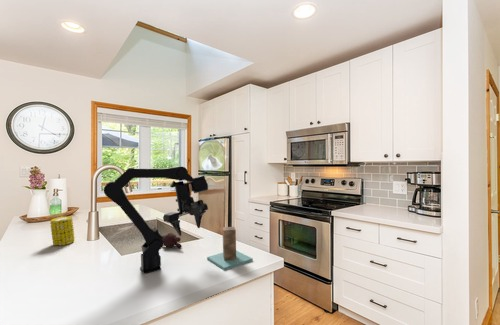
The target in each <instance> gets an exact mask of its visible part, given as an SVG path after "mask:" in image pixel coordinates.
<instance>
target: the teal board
mask: <svg viewBox="0 0 500 325" xmlns="http://www.w3.org/2000/svg"><path fill="white" fill-rule="evenodd" d="M206 259H207V260H208V261H209V262H210V263H213V265H215V266H217V267H219V268H220V269H222V270H223V271H226V270H229V269H232V268H235V267H239V266H241V265H244V264H249V263H251V262H253V261H254V259H253V257H250V256H248V255H247V254H244V253H243V252H240V251H238V250H236V259H235V260H225V261H224V257H223V252H220V253H216V254H213V255H209V256H206Z"/></svg>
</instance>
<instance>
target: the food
mask: <svg viewBox="0 0 500 325" xmlns="http://www.w3.org/2000/svg"><path fill="white" fill-rule="evenodd" d="M50 230H51V231H50V232H51V240H52V245H54V246H65V245H69V244H72V243H74V242H75V238H76V237H75V228H74V222H73V217H72V216H62V215H60V217H59V216H57V217H55V218H54V217H53V218H52V219H50Z"/></svg>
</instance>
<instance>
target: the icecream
mask: <svg viewBox="0 0 500 325" xmlns="http://www.w3.org/2000/svg"><path fill="white" fill-rule="evenodd" d="M162 236H163V238H162V239H163V241H164V244H163V246H164V247H165V248H173V247H176V248H178V249H182V247H183V246H182V244H181V243H180V242H181V236H177V235H176V234H174V233H173V232H170V233H167V234H165V235H162Z"/></svg>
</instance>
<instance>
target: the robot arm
mask: <svg viewBox="0 0 500 325" xmlns="http://www.w3.org/2000/svg"><path fill="white" fill-rule="evenodd" d="M150 178H151V179H157V178H158V179H161V178H163V179H169V180H172V182H171V184H170V185H169V187H170V188H174V190H175V195H176V196H175V197H176V199H175V202H177V206H178V208H177V212H173V211H171V212H167V213H165V214H163V216H162V218H163V222H165V223H169V224H170V225H171V226H172V227H173V229H174V230H175V231H176V233H177V234H178V237H182V230H181V225H180V223H181V220H180V217H182V216H186V215H190V216H194V220H195V225H196V227H197V229H200V227H201V223H202V218H203V215H204V214H205V213H206V212H207V210H209V206H208V204H207V203H205V202H204V200H203V199H198V200H197V201H195V200H194V197H193V196H191V192H192V193H194V194H198V193H202V192H207V191H209V190H208V189H209V185H208V182H207V179H206V177H205V175H200V176H197V177H196V176H195V177H193V176H192V175H191V174H189V170H188V169H187V168H186V167H185V166H178V165H177V166H171V167H166V168H134V167H129V168H127V169H125V171H124V172H123V173H122V174H121V175H119V177H117V178H116V179H115V180H112V181H109V182H107V183H106V184H105V185H104V188H103V193H104V195H105V196H106V197H107V198H108V199H110V200H111V201H112V202H113V203H115V204H116V205H117V206H118V207H119V208H121V210H122V211H123V212H124V214H125V215H126V217H128V218H129V220H130V222H132V224H133V225H134V226H135V227H136V228H137V230H138V232H139V233H141V235H142V237H143V239H144V243H143V244H142V245H141V251H142V253H140V267H139V269H140V270H141V271H142V274H148V273H151V272H155V271H158V270H161V269H162V267H161V265H162V261H161V260H162V259H161V255H160V251H161V249H162V248H163V247H164V241H163V239H162V238H163V236H164V235H163V234H162V233H161V232H160V231H159V230H158V228H157V226H154V227H151V226H150V225H149V224H148V223H147V221H146V220H145V218H144V217H143V216H142V215H141V214H140V212H139V211H138V210H137V209H136V208H135V206H134V205H133V204H132V202H131V201H130V199H129V198H128V197H127V196H128V195H127V194H126V192H125V190H124V187H125V186H126V185H127V184H129V183H130V182H131V181H132V180H133V179H150ZM184 181H186V182H184Z"/></svg>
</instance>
